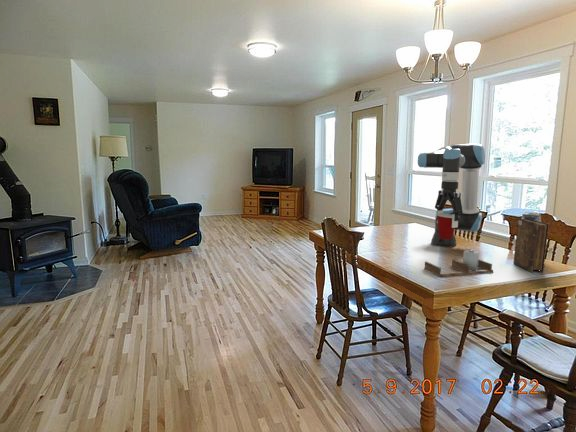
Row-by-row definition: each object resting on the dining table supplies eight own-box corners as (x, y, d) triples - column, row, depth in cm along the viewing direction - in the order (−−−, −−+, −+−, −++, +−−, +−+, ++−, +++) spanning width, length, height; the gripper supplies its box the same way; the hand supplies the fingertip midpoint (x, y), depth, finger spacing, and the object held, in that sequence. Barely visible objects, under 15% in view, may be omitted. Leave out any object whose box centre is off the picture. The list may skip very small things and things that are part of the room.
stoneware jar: (471, 266, 196) (472, 247, 194) (480, 270, 189) (482, 251, 188) (459, 267, 195) (461, 248, 193) (468, 271, 188) (470, 252, 186)
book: (511, 263, 202) (516, 217, 198) (525, 263, 202) (530, 217, 197) (530, 272, 185) (535, 223, 181) (544, 272, 185) (550, 223, 181)
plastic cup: (460, 240, 181) (462, 216, 179) (437, 240, 182) (439, 215, 180) (454, 236, 191) (455, 212, 189) (432, 235, 193) (433, 212, 191)
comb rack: (474, 264, 199) (475, 257, 198) (493, 272, 186) (493, 264, 185) (424, 269, 192) (424, 261, 191) (440, 277, 179) (440, 269, 179)
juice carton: (516, 259, 209) (521, 211, 204) (519, 255, 217) (524, 209, 212) (535, 262, 203) (540, 213, 199) (537, 258, 211) (542, 210, 207)
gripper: (429, 179, 192) (426, 221, 196) (459, 182, 170) (455, 230, 174) (442, 179, 194) (439, 221, 198) (473, 182, 172) (469, 229, 175)
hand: (447, 225), depth 186 cm, fingers closed on plastic cup, 11 cm apart
